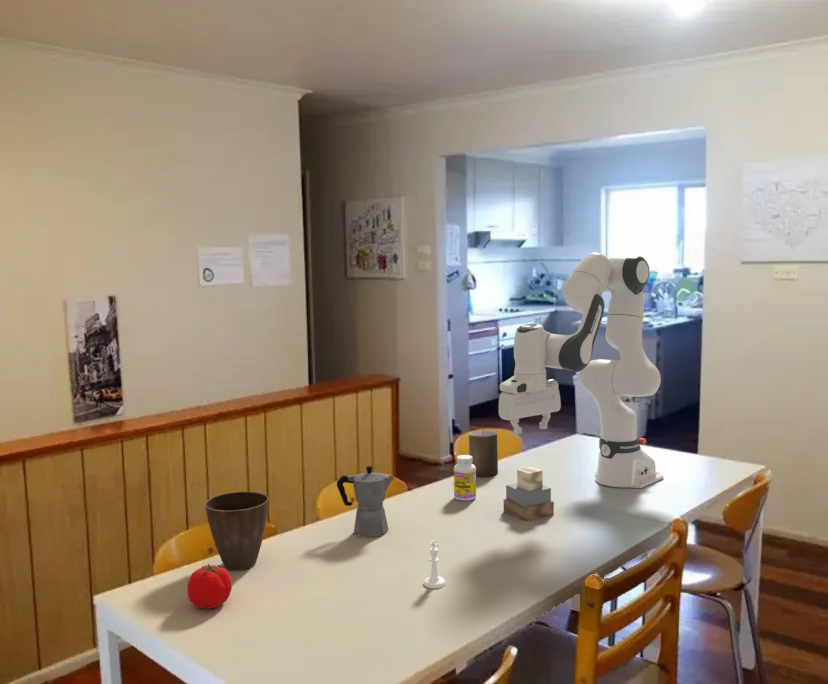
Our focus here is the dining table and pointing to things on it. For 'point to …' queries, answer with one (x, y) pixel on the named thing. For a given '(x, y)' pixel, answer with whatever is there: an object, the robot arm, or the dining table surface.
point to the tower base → (528, 510)
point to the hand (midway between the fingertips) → (530, 431)
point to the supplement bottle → (464, 479)
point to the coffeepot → (368, 501)
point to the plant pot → (237, 527)
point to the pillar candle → (484, 452)
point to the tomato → (209, 586)
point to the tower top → (528, 495)
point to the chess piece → (434, 570)
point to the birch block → (529, 478)
